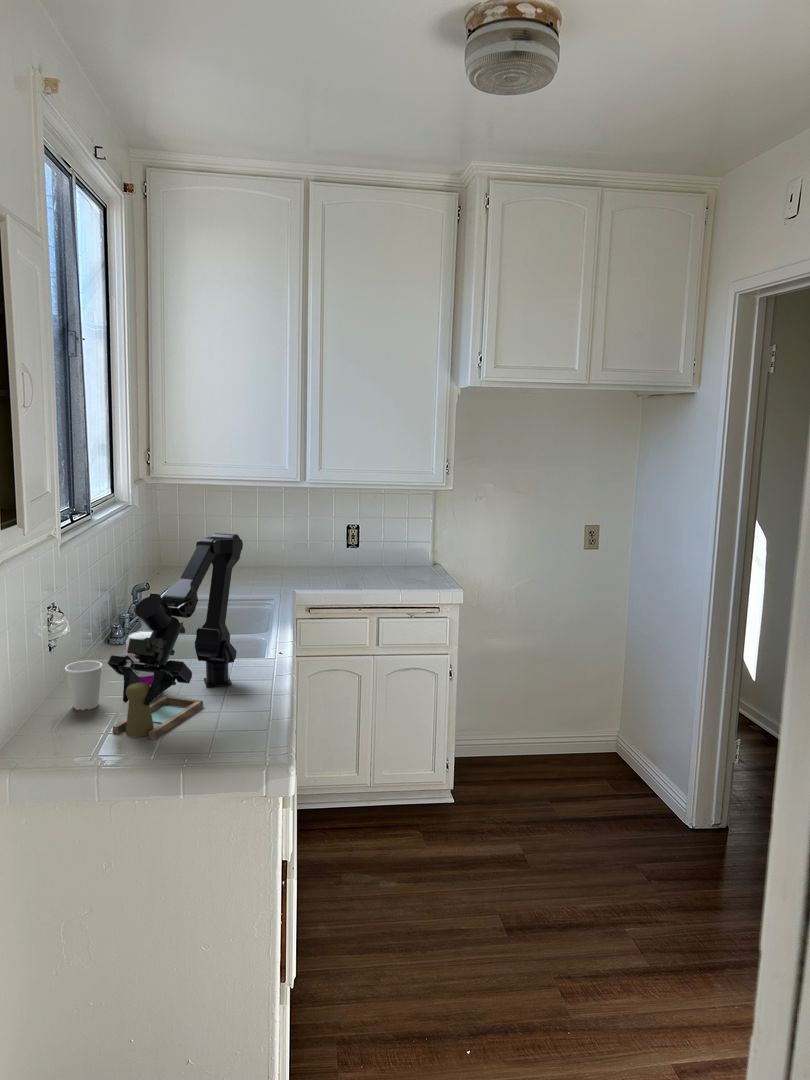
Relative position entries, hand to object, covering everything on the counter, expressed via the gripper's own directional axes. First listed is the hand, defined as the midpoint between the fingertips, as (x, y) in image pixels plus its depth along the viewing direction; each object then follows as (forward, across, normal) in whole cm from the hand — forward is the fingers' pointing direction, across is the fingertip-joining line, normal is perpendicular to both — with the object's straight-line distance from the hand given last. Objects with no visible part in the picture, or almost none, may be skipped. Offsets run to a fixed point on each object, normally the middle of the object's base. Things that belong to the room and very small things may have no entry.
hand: (135, 703), depth 175 cm
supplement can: (-11, -14, +22) cm, 28 cm away
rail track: (-1, 0, +11) cm, 11 cm away
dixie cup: (-2, -22, +13) cm, 25 cm away
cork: (+4, 0, +6) cm, 7 cm away
